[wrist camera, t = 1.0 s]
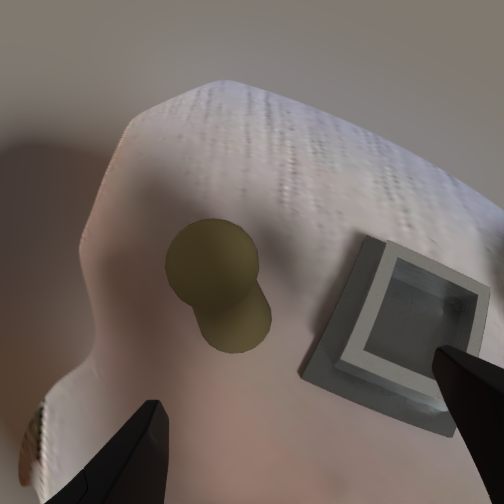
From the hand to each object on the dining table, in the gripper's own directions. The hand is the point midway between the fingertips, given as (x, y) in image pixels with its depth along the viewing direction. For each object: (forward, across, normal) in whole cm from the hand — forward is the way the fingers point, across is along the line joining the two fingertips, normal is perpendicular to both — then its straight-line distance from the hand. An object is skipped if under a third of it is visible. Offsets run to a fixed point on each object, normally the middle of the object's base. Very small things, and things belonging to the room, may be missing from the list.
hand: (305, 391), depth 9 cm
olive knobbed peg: (+16, +3, +7) cm, 17 cm away
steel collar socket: (+12, -11, +9) cm, 19 cm away
